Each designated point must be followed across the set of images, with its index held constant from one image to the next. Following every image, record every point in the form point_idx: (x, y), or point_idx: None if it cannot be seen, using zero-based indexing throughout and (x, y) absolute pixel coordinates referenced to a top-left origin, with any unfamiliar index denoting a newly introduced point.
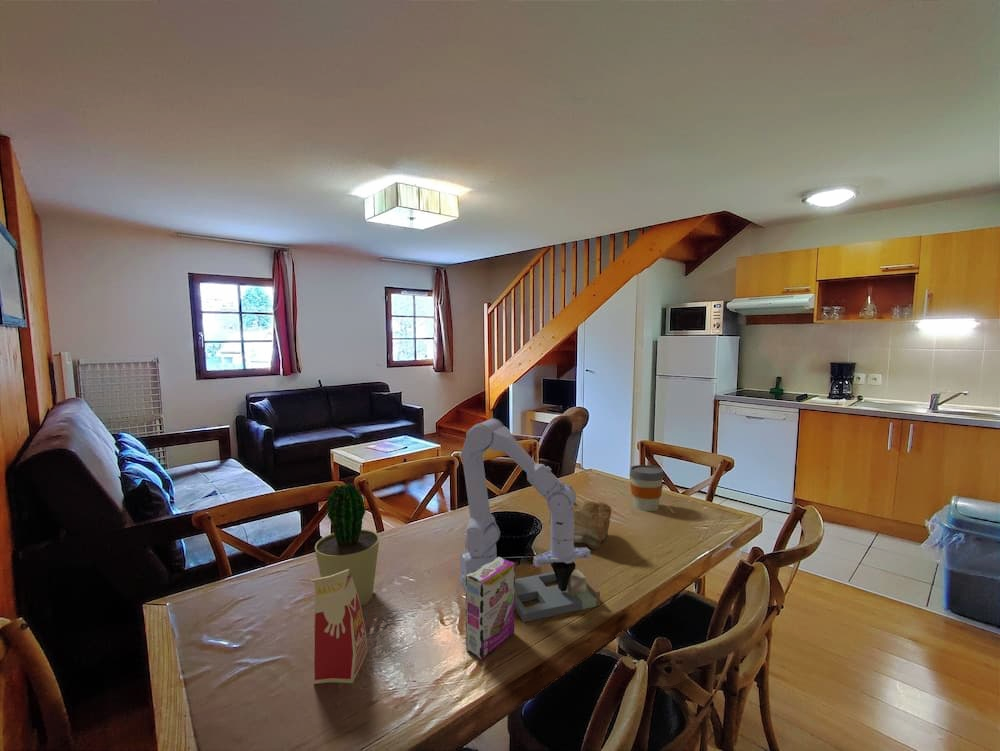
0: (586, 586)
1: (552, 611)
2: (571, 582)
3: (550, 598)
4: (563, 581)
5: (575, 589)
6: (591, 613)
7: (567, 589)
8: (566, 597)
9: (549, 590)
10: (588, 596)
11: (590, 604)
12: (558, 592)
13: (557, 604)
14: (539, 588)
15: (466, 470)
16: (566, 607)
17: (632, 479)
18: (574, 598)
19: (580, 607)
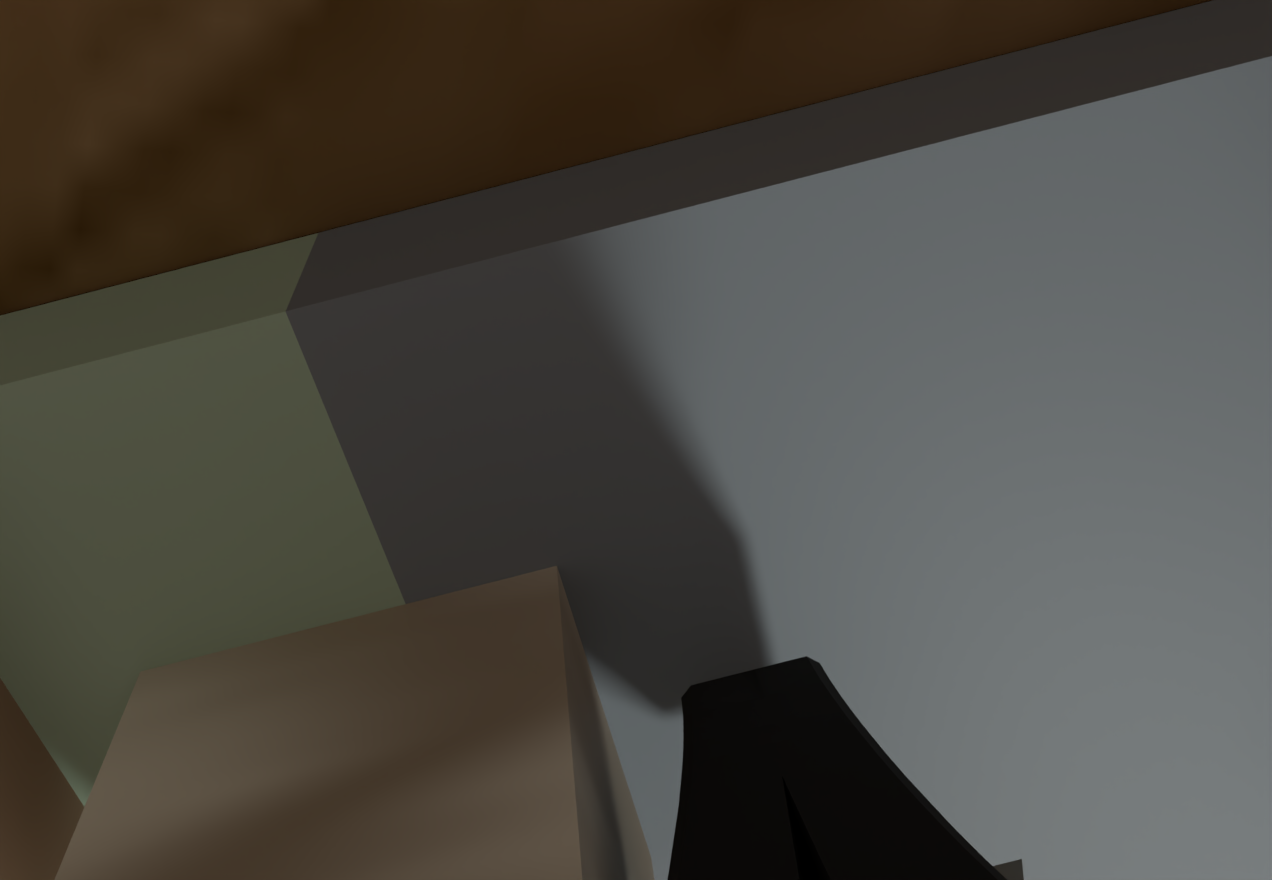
0: None
1: (1187, 46)
2: (570, 855)
3: (1119, 480)
4: (883, 870)
5: (426, 698)
6: (95, 40)
7: (614, 760)
8: (700, 505)
9: (1009, 766)
10: (74, 520)
11: (72, 323)
12: None
13: (1048, 212)
14: (1186, 828)
15: None
16: (784, 156)
17: None
18: (496, 451)
19: (367, 236)
